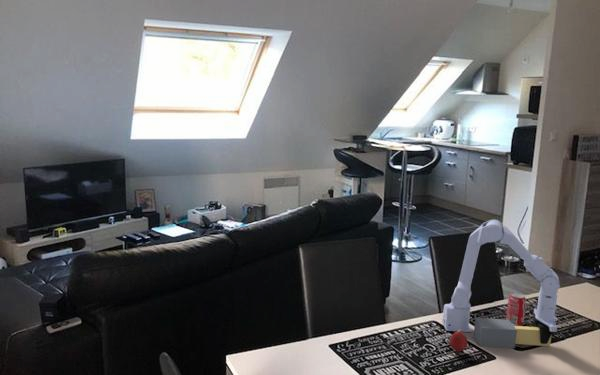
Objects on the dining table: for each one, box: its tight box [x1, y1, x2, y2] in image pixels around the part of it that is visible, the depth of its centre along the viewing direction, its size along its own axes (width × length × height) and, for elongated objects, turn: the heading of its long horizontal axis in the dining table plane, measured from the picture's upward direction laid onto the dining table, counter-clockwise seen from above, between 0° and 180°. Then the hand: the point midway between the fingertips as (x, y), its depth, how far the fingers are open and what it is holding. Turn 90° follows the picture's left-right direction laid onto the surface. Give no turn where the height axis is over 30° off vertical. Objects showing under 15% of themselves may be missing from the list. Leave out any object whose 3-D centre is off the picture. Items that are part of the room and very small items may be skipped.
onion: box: [449, 330, 468, 353], centre depth 164 cm, size 6×6×8 cm
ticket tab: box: [515, 325, 553, 347], centre depth 171 cm, size 16×2×6 cm, turn 86°
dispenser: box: [473, 317, 517, 349], centre depth 172 cm, size 12×8×7 cm, turn 86°
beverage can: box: [505, 292, 527, 326], centre depth 186 cm, size 6×6×12 cm
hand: (542, 341), depth 171 cm, fingers closed on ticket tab, 2 cm apart
